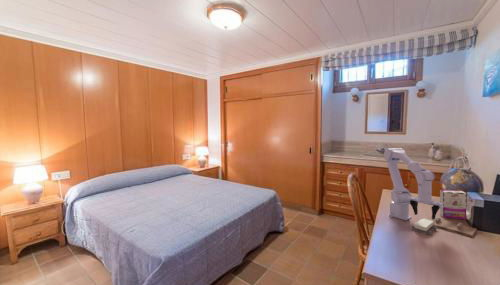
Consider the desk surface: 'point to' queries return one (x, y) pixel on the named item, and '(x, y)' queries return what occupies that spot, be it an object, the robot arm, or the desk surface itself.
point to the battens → (425, 231)
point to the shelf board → (424, 224)
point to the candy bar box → (453, 204)
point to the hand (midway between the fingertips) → (424, 216)
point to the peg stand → (453, 227)
